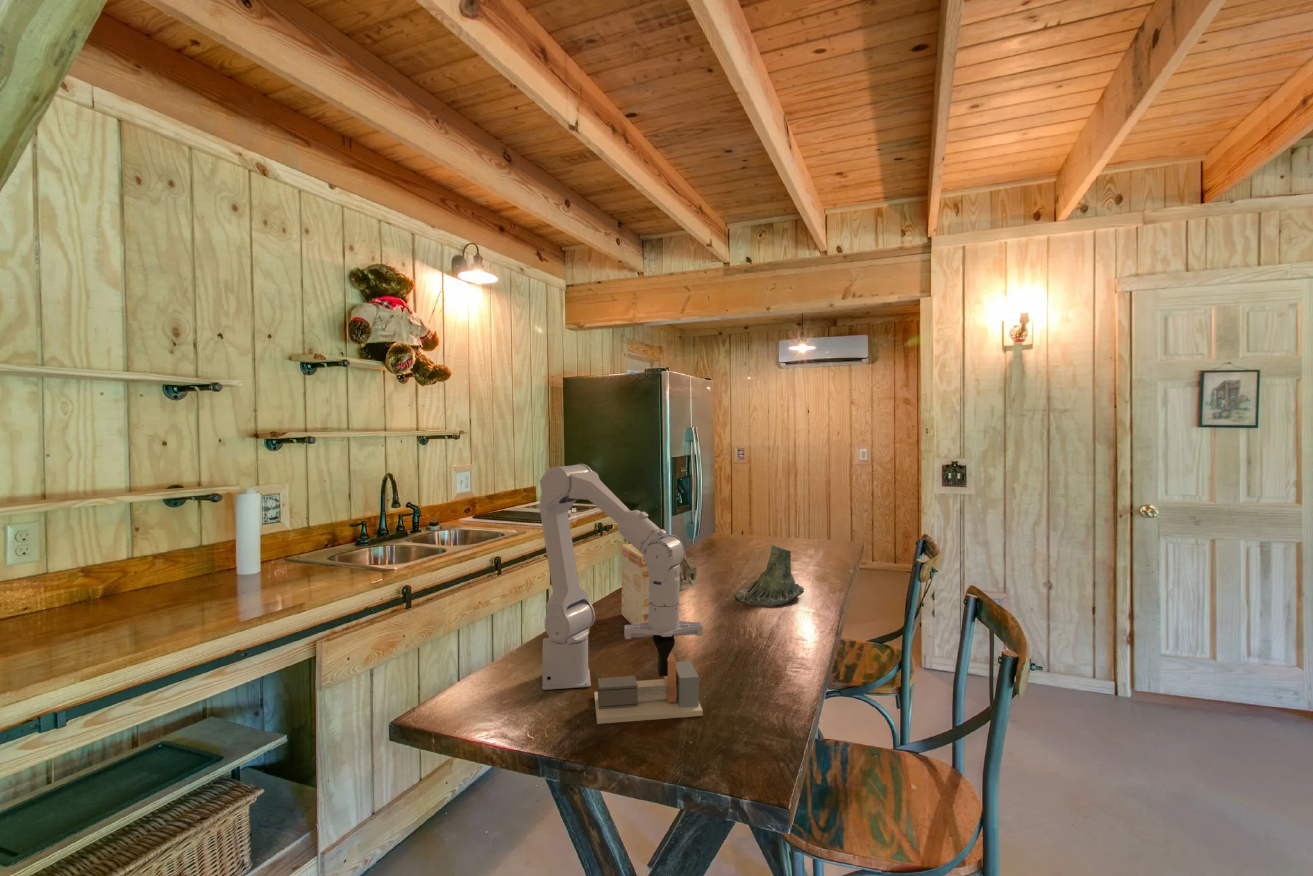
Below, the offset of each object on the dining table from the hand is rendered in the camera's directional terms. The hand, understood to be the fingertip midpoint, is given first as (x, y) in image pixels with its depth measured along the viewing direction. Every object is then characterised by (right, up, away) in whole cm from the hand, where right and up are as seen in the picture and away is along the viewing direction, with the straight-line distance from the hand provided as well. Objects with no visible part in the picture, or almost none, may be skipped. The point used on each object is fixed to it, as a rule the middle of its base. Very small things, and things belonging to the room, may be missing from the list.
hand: (662, 674), depth 109 cm
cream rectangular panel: (-3, -6, 0) cm, 7 cm away
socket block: (+4, -5, +1) cm, 7 cm away
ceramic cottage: (+5, -4, +80) cm, 80 cm away
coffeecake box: (-5, -5, +45) cm, 45 cm away
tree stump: (+33, -4, +67) cm, 75 cm away
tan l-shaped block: (0, -5, 0) cm, 4 cm away
